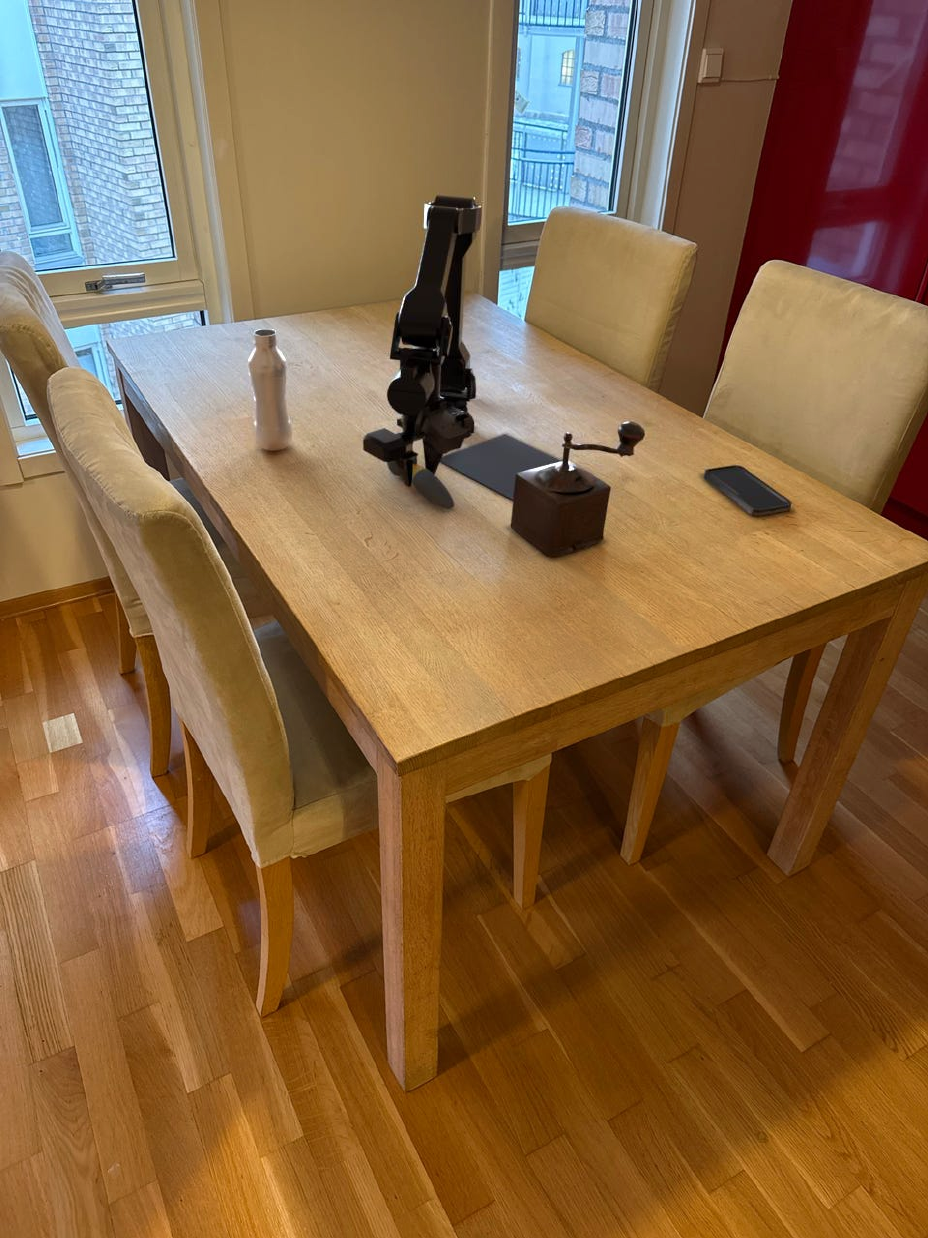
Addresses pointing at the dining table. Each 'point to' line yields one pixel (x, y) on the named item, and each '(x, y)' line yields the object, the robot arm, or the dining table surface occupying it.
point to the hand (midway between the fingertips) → (419, 481)
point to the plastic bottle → (269, 392)
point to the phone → (747, 490)
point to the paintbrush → (427, 484)
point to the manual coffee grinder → (566, 499)
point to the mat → (497, 462)
